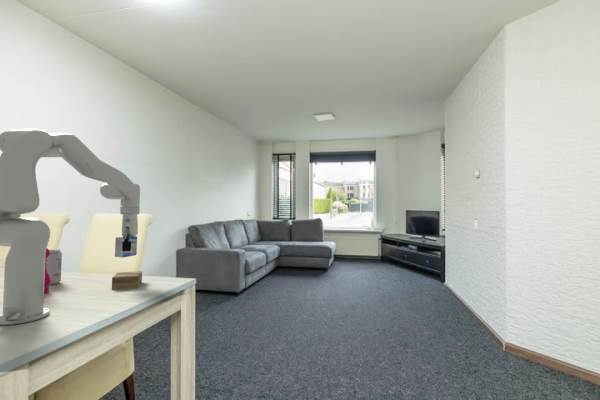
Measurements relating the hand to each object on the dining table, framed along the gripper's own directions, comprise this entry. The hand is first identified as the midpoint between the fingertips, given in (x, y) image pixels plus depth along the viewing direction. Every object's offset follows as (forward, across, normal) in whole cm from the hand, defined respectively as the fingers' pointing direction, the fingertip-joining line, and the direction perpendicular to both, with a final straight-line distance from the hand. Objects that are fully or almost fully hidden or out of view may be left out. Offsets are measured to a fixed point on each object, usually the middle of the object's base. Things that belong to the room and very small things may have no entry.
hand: (128, 249), depth 134 cm
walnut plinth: (+16, 0, 0) cm, 16 cm away
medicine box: (+3, 0, +1) cm, 3 cm away
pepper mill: (+16, -3, +31) cm, 35 cm away
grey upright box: (+16, +12, +32) cm, 38 cm away
